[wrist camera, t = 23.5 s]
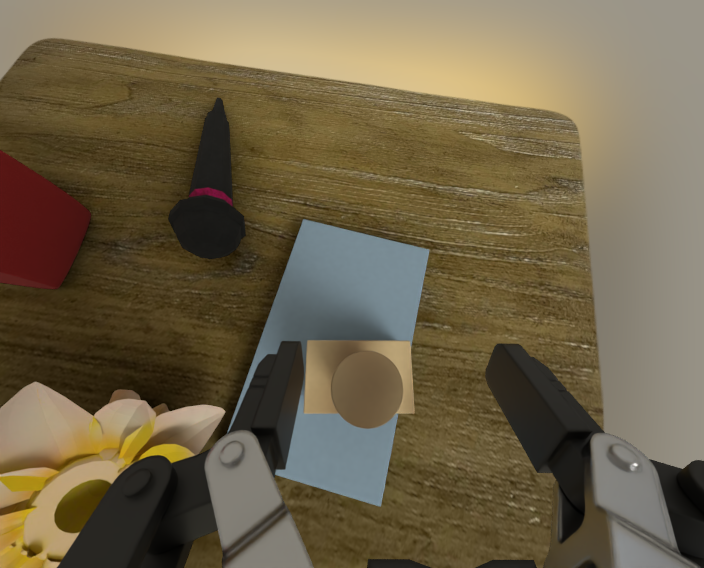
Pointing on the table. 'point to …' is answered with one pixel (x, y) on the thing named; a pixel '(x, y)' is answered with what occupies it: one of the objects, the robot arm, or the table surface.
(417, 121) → the table surface
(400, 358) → the wooden stamp
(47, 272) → the red curved piece
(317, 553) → the table surface
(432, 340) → the table surface
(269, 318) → the mat
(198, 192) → the microphone
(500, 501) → the table surface
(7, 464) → the decorative flower
